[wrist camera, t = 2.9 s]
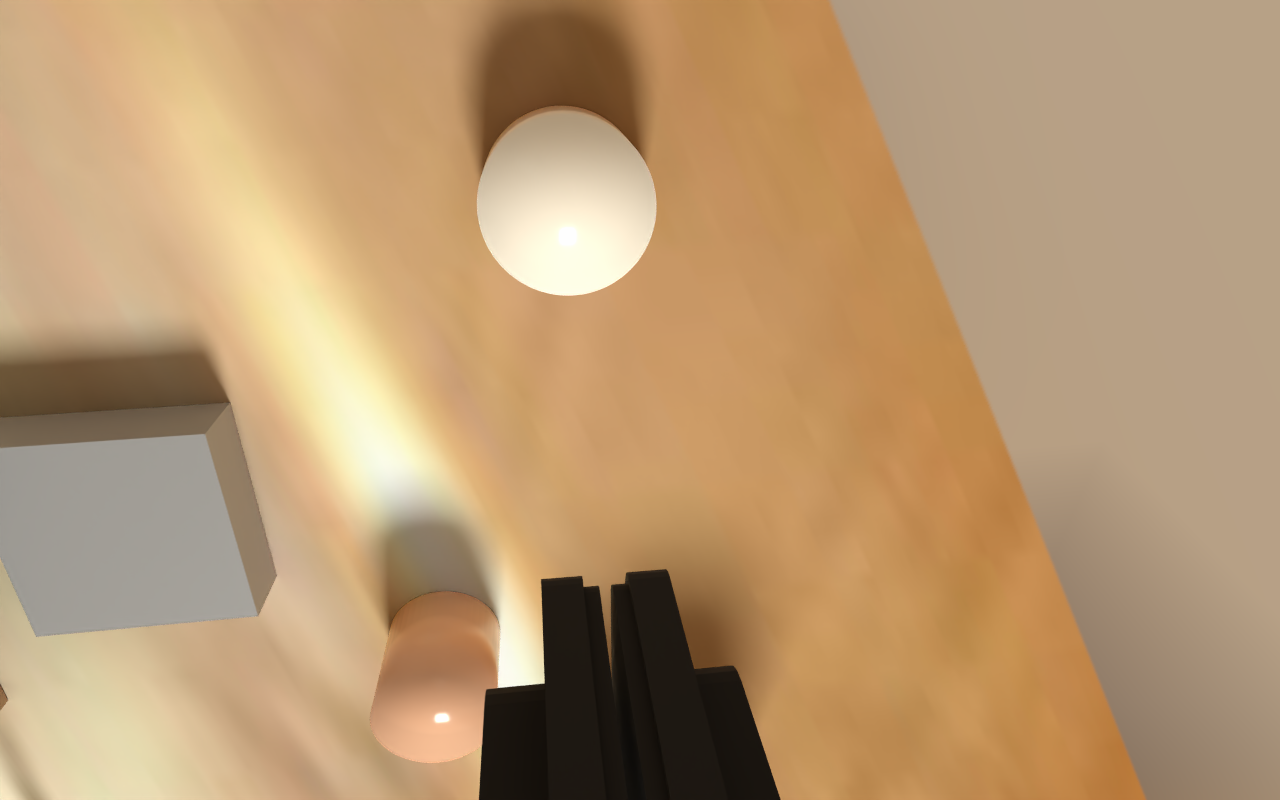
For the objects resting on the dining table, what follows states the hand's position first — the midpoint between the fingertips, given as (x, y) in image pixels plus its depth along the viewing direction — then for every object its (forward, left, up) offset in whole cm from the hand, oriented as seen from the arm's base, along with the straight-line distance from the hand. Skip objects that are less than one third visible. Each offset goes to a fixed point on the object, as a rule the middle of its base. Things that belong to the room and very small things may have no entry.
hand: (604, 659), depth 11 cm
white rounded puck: (-1, +1, -27) cm, 27 cm away
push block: (+13, -20, -27) cm, 36 cm away
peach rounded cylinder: (+23, -7, -27) cm, 36 cm away
